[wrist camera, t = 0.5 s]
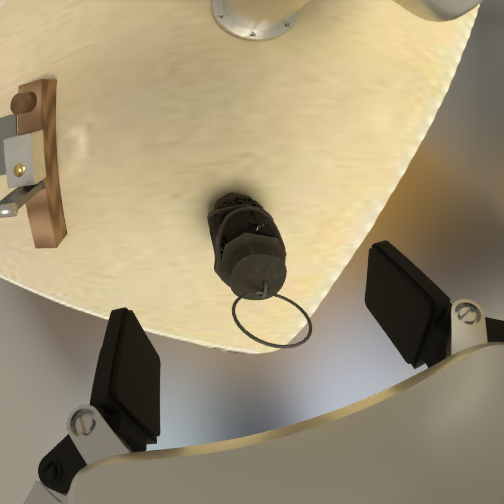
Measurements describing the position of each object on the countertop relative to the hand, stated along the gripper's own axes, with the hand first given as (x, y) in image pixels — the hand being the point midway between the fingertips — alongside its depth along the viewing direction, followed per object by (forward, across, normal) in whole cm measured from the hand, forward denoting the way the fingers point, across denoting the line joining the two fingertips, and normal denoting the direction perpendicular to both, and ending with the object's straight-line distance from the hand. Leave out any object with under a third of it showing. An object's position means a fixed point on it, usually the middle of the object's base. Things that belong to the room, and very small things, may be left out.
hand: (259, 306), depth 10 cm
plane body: (+35, +26, -7) cm, 44 cm away
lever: (+29, +26, -4) cm, 39 cm away
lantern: (+35, -2, +11) cm, 37 cm away
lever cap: (+30, +25, -9) cm, 40 cm away
